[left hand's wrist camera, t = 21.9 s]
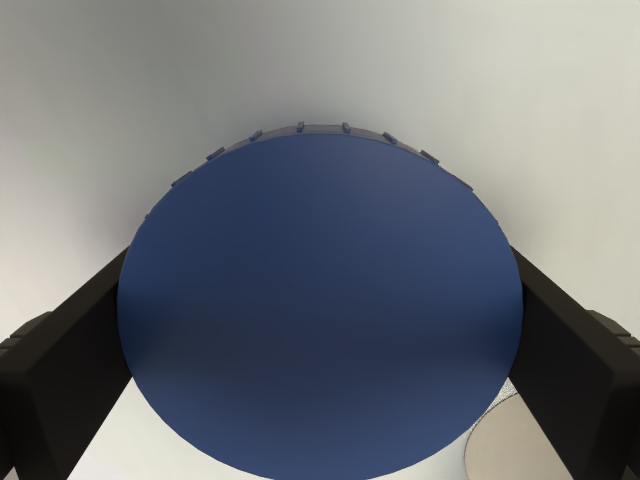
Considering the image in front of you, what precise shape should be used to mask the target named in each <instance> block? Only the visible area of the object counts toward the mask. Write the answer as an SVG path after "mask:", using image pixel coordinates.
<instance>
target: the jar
mask: <svg viewBox="0 0 640 480" xmlns="http://www.w3.org/2000/svg"><path fill="white" fill-rule="evenodd" d="M464 461H465V469H466V472H467V476H468V478H469V480H573V478H572V476H571V475H570V473H569V472H568V470H567V469H566V467H565V465H564V464H563V462H562V461H561V459H560V458H559V456H558V454H557V453H556V451H555V450H554V448H553V447H552V445H551V443H550V442H549V440H548V439H547V437H546V436H545V434H544V432H543V431H542V429H541V428H540V426H539V425H538V423H537V421H536V420H535V418H534V417H533V415H532V414H531V412H530V410H529V409H528V407H527V406H526V404H525V403H524V401H523V399H522V398H521V396H520V395H519V393H518V394H516V395H514V396H512V397H510V398H508V399H506V400H505V401H503V402H501V403H500V404H498V405H497V406H496V407H495V408H493V409H492V410H491V411H490V412H489V413H487V414H486V415H485V416H484V417H483V418H482V420H481V421H480V422H479V423H478V424H477V426H476V427H475V429H474V430H473V432H472V434H471V436H470V438H469V440H468V443H467V446H466V450H465V460H464Z"/></svg>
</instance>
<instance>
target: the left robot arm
mask: <svg viewBox="0 0 640 480" xmlns="http://www.w3.org/2000/svg"><path fill="white" fill-rule="evenodd" d="M509 245H510V244H509ZM129 247H130V246H128V247H127V248H126V249H125V250H124V251H123V252H121V253H120V254H119V255H118V256H117V257H116V258H114V259H113V260H112V261H111V262H110V263H109V264H107V265H106V266H105V267H104V268H103V269H102V270H100V271H99V272H98V273H97V274H96V275H95V276H93V277H92V278H91V279H90V280H89V281H88V282H86V283H85V284H84V285H83V286H82V287H81V288H79V289H78V290H77V291H76V292H75V293H74V294H72V295H71V296H70V297H69V298H68V299H67V300H65V301H64V302H63V303H62V304H61V305H60V306H58V307H57V308H56V309H55V310H54V311H53V312H46V313H44V314H42V315H40V316H38V317H36V318H34V319H32V320H30V321H28V322H26V323H25V324H24V325H22V326H21V327H20V328H19V329H18V330H16V331H15V332H14V333H13V334H11V335H10V338H6V339H5V340H4V341H3V342H2V343H0V480H3V479H4V478H5V477H6V476H7V474H8V473H9V472H10V471H11V469H12V468H13V467H15V470H16V472H17V475H18V478H19V480H67V478H68V477H69V475H70V474H71V472H72V471H73V469H74V467H75V466H76V464H77V463H78V461H79V460H80V458H81V456H82V455H83V453H84V452H85V450H86V449H87V447H88V445H89V444H90V442H91V441H92V439H93V438H94V436H95V434H96V433H97V431H98V430H99V428H100V427H101V425H102V423H103V422H104V420H105V419H106V417H107V416H108V414H109V412H110V411H111V409H112V408H113V406H114V405H115V403H116V401H117V400H118V398H119V397H120V395H121V394H122V392H123V390H124V389H125V387H126V386H127V384H128V383H129V381H130V380H131V378H132V374H131V372H130V370H129V368H128V366H127V363H126V360H125V357H124V353H123V350H122V345H121V340H120V335H119V330H118V325H117V293H118V286H119V279H120V274H121V271H122V267H123V264H124V261H125V257H126V254H127V251H128V249H129ZM510 248H511V250H512V252H513V255H514V257H515V260H516V262H517V267H518V271H519V275H520V280H521V284H522V294H523V308H524V312H523V324H522V332H521V337H520V342H519V347H518V351H517V355H516V358H515V360H514V363H513V365H512V368H511V370H510V373H509V375H508V378H509V379H510V381H511V382H512V384H513V385H514V387H515V388H516V390H517V392H518V393H519V395H520V396H521V398H522V399H523V401H524V403H525V404H526V406H527V407H528V409H529V410H530V412H531V414H532V415H533V417H534V418H535V420H536V421H537V423H538V425H539V426H540V428H541V429H542V431H543V432H544V434H545V436H546V437H547V439H548V440H549V442H550V443H551V445H552V447H553V448H554V450H555V451H556V453H557V454H558V456H559V458H560V459H561V461H562V462H563V464H564V465H565V467H566V469H567V470H568V472H569V473H570V475H571V476H572V478H573V480H621V479H622V476H623V473H624V471H625V468H626V465H628V467H629V468H630V469H631V470H632V472H633V473H634V474H635V475H636V477H637V478H638V479H639V480H640V341H639V340H637V339H636V338H635V337H631V334H630V333H629V332H628V331H626V330H625V329H624V328H623V327H621V326H620V325H619V324H618V323H617V322H615V321H614V320H612V319H610V318H608V317H606V316H604V315H602V314H600V313H598V312H596V311H594V310H585V309H584V308H583V307H582V306H581V305H580V304H578V303H577V302H576V301H575V300H574V299H573V298H571V297H570V296H569V295H568V294H567V293H566V292H564V291H563V290H562V289H561V288H560V287H559V286H557V285H556V284H555V283H554V282H553V281H552V280H550V279H549V278H548V277H547V276H546V275H545V274H543V273H542V272H541V271H540V270H539V269H538V268H536V267H535V266H534V265H533V264H532V263H531V262H529V261H528V260H527V259H526V258H525V257H524V256H522V255H521V254H520V253H519V252H518V251H517V250H515V249H514V248H513V247H512V246H511V245H510Z"/></svg>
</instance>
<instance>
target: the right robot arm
mask: <svg viewBox="0 0 640 480" xmlns="http://www.w3.org/2000/svg"><path fill="white" fill-rule="evenodd" d="M621 480H639V479H638V478H637V477H636V475H635V474H634V473H633V472H632V470H631V469H630V468H629V467H628V465H626V468H625V471H624V473H623V476H622V479H621Z"/></svg>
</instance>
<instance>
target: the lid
mask: <svg viewBox="0 0 640 480" xmlns="http://www.w3.org/2000/svg"><path fill="white" fill-rule="evenodd" d="M207 160H208V161H207V162H205V163H204V164H202V165H201V166H200V167H198V168H197V169H195V170H194V171H193V172H192V171H190V172H188V173H187V174H185V175H184V176H182V177H181V178H179V179H178V180H176V181H175V182H174V183H173V184H171V186H172V188H171V189H170V190H169V191H168V192H167V194H166V195H165V196H164V197H163V198H162V199H161V200H160V201H159V202H158V203H157V204H156V205H155V206H154V207H153V209H152V210H151V211H150V213H149V214H147V215H146V217H145V220H144V222H143V223H142V224H141V226H140V227H139V229H138V231H137V233H136V235H135V237H134V239H133V241H132V243H131V245H130V247H129V249H128V251H127V254H126V257H125V261H124V264H123V267H122V271H121V274H120V279H119V286H118V293H117V325H118V330H119V335H120V340H121V345H122V350H123V353H124V357H125V360H126V363H127V366H128V368H129V370H130V372H131V374H132V376H133V378H134V380H135V382H136V385H137V387H138V388H139V390H140V391H141V393H142V394H143V396H144V397H145V399H146V400H147V402H148V403H149V405H150V406H151V407H152V408H153V409H154V411H155V412H156V413H157V414H158V415H159V416H160V417H161V419H162V420H163V421H164V422H165V423H166V424H167V425H168V426H169V427H170V428H172V429H173V430H174V431H175V432H176V433H177V434H178V435H179V436H180V437H182V438H183V439H184V440H186V441H187V442H189V443H190V444H191V445H193V446H194V447H196V448H197V449H198V450H200V451H202V452H204V453H205V454H207V455H209V456H211V457H212V458H214V459H216V460H218V461H220V462H222V463H224V464H227V465H229V466H231V467H234V468H236V469H238V470H241V471H244V472H247V473H251V474H254V475H257V476H260V477H265V478H269V479H274V480H367V479H372V478H376V477H379V476H383V475H387V474H390V473H393V472H396V471H399V470H401V469H404V468H407V467H409V466H412V465H414V464H416V463H418V462H420V461H422V460H424V459H426V458H428V457H430V456H432V455H434V454H435V453H437V452H438V451H440V450H441V449H443V448H444V447H446V446H448V445H449V444H451V443H452V442H453V441H454V440H456V439H457V438H458V437H459V436H461V435H462V434H463V433H464V432H465V431H467V430H468V429H469V428H470V427H471V426H472V425H473V424H474V423H475V422H476V421H477V420H478V419H479V418H480V417H481V416H482V415H483V414H484V412H485V411H486V410H487V408H488V407H489V406H490V404H491V403H492V402H493V400H494V399H495V398H496V396H497V395H498V393H499V391H500V390H501V388H502V386H503V384H504V383H505V381H506V379H507V377H508V375H509V373H510V370H511V368H512V365H513V363H514V360H515V358H516V355H517V351H518V347H519V342H520V337H521V332H522V324H523V312H524V308H523V294H522V284H521V280H520V275H519V271H518V267H517V262H516V260H515V257H514V255H513V252H512V250H511V248H510V245H509V243H508V240H507V238H506V236H505V235H504V233H503V231H502V230H501V228H500V226H499V225H498V222H497V220H496V219H495V218H494V217H493V215H492V214H491V213H490V212H489V211H488V209H487V208H486V207H485V206H484V205H483V203H482V202H481V201H480V200H479V198H478V197H477V196H476V195H475V194H474V193H473V192H472V191H473V189H472V188H471V187H470V186H469V185H467V184H466V183H464V182H463V181H462V180H460V179H459V178H457V177H456V176H454V175H452V174H450V173H449V172H447V171H446V170H444V169H443V168H442V167H440V166H439V165H437V164H438V163H439V161H438V160H437V159H435V158H434V157H432V156H431V155H429V154H428V153H426V152H425V151H423V150H422V151H421V152H420V153H419V152H418V151H416V150H415V149H413V148H411V147H409V146H407V145H405V144H403V143H401V142H398V140H396V139H395V138H394V137H392V136H391V135H390V134H388V133H386V132H384V134H383V135H380V134H377V133H374V132H371V131H367V130H364V129H358V128H352V127H349V126H348V124H347V123H342V126H340V125H304V122H299V124H298V126H295V127H286V128H282V129H278V130H274V131H270V132H266V133H262V130H260V131H257V132H256V133H255V134H254V135H252V136H251V137H250V138H249V139H246V140H244V141H241V142H239V143H236V144H235V145H233V146H231V147H229V148H228V149H226V150H225V149H224V147H222V148H220V149H219V150H217V151H216V152H214V153H213V154H211V155H210V156H208V157H207Z"/></svg>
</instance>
